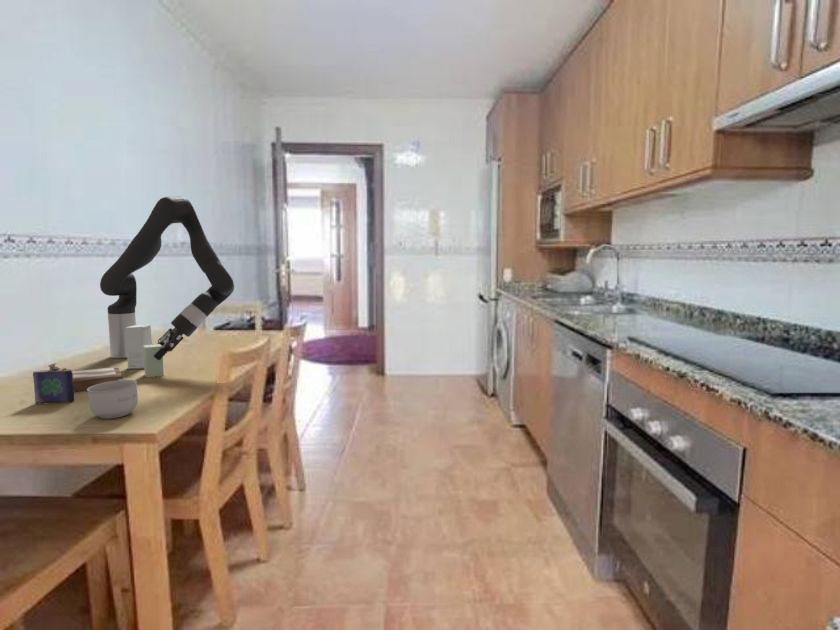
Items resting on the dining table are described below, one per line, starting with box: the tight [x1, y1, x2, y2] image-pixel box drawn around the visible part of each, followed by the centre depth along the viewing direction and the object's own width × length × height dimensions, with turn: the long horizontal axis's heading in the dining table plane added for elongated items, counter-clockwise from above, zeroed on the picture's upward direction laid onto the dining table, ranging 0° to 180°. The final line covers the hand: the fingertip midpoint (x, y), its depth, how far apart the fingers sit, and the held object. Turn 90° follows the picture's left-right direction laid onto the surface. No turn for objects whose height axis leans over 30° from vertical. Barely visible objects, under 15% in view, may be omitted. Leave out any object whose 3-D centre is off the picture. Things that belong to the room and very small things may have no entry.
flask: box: [32, 362, 75, 404], centre depth 140 cm, size 9×3×11 cm, turn 102°
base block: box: [71, 366, 124, 392], centre depth 160 cm, size 14×14×4 cm
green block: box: [143, 343, 164, 378], centre depth 171 cm, size 5×5×10 cm
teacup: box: [86, 378, 139, 420], centre depth 131 cm, size 14×11×8 cm
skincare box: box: [125, 324, 153, 370], centre depth 184 cm, size 8×6×15 cm
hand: (154, 356), depth 171 cm, fingers open, 8 cm apart
